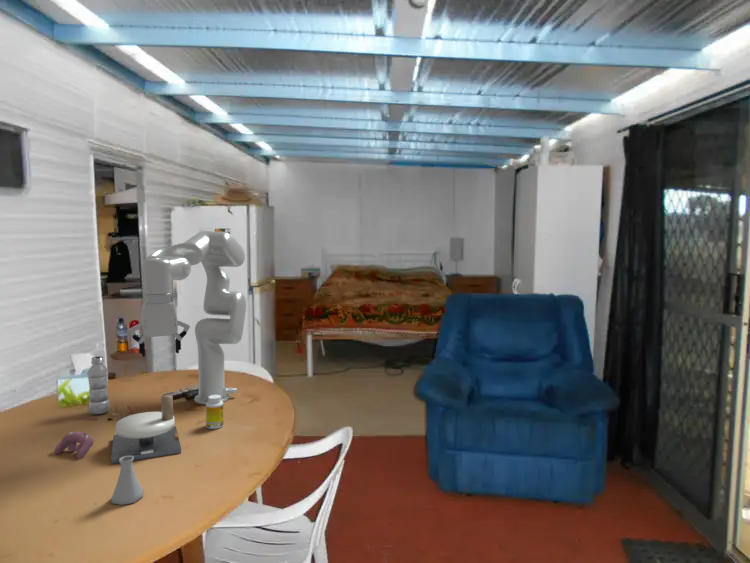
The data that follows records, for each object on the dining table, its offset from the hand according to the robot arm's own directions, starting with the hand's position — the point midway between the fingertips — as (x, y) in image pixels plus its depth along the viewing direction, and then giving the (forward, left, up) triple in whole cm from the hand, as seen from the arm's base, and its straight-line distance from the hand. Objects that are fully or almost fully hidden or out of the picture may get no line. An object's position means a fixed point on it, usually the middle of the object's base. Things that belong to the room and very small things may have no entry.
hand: (160, 353), depth 155 cm
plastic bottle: (+19, -31, -27) cm, 45 cm away
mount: (+5, +5, -27) cm, 28 cm away
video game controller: (+23, +2, -27) cm, 36 cm away
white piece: (+5, +5, -21) cm, 22 cm away
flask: (+10, +35, -27) cm, 45 cm away
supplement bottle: (-16, -3, -27) cm, 32 cm away
